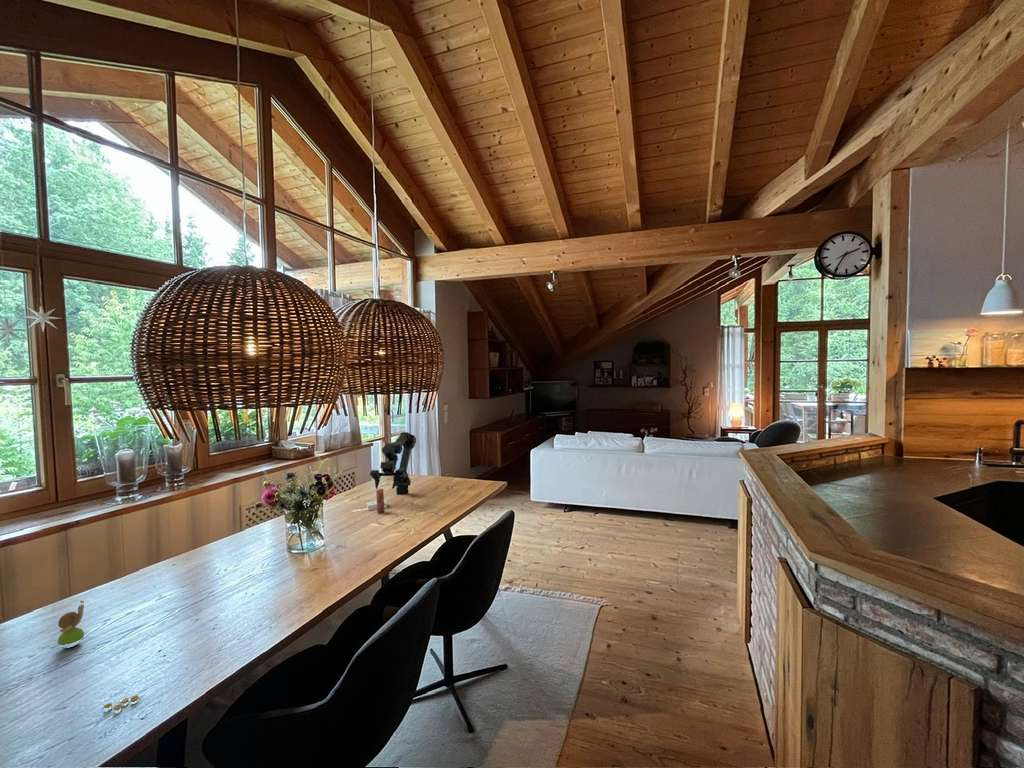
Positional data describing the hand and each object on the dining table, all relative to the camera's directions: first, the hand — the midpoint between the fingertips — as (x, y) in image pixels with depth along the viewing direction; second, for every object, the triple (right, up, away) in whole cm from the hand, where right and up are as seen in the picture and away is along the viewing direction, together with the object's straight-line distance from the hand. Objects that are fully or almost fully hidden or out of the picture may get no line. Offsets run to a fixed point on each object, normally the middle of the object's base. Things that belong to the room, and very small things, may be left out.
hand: (384, 488), depth 240 cm
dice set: (-25, -22, -133) cm, 137 cm away
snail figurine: (-60, -21, -109) cm, 126 cm away
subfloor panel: (-10, -12, +6) cm, 17 cm away
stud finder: (-5, -11, +3) cm, 13 cm away
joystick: (0, -13, -5) cm, 14 cm away
